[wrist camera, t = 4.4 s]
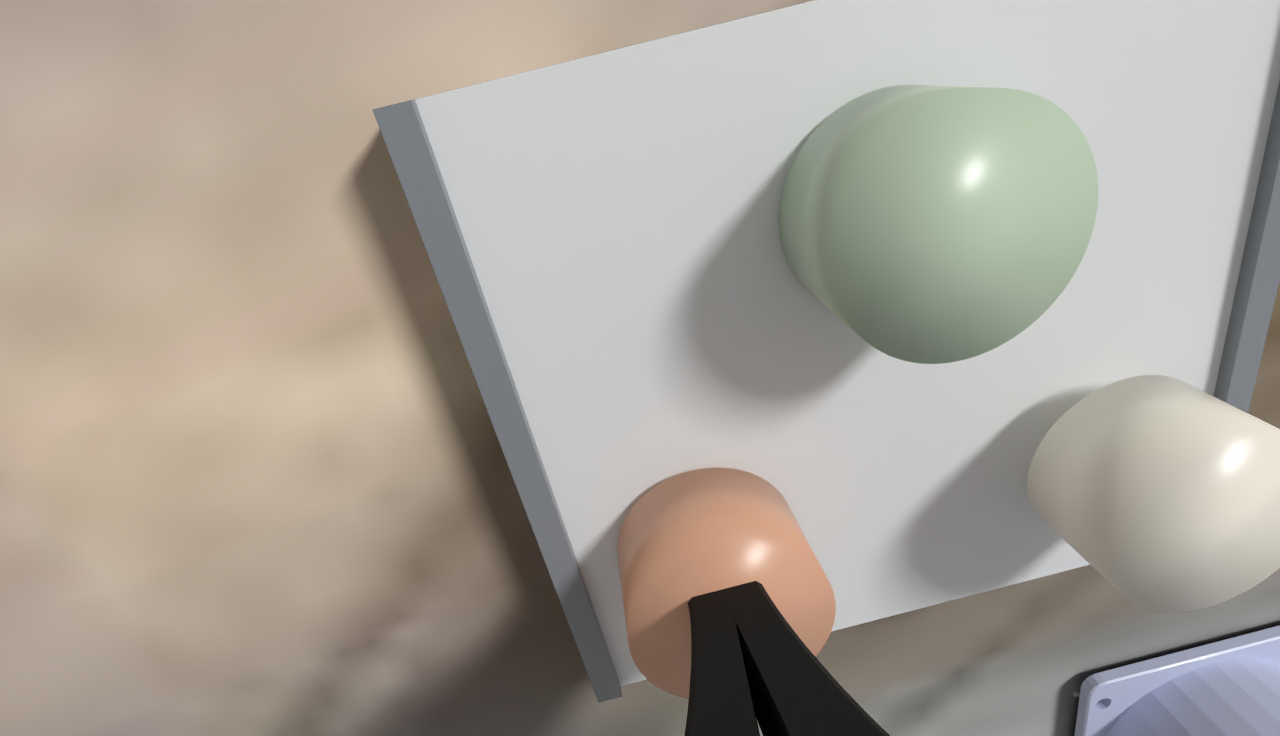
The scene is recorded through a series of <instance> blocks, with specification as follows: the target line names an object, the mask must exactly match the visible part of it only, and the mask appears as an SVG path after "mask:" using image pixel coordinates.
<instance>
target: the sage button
mask: <svg viewBox="0 0 1280 736" xmlns="http://www.w3.org/2000/svg"><path fill="white" fill-rule="evenodd" d="M1097 207H1098V179H1097V170H1096V166H1095V161H1094V157H1093V154H1092V151H1091V149H1090V146H1089V144H1088V142H1087V139H1086V138H1085V136H1084V134H1083V133H1082V131H1081V130H1080V128H1079V127H1078V125H1077V124H1076V123H1075V122H1074V121H1073V119H1072V118H1071V117H1070V116H1069V115H1068V114H1067V113H1066V112H1065V111H1063V110H1062V109H1061V108H1059V107H1058V106H1057V105H1055V104H1054V103H1053V102H1051V101H1049V100H1047V99H1045V98H1043V97H1041V96H1039V95H1036V94H1032V93H1029V92H1026V91H1022V90H1015V89H1008V88H989V87H961V86H932V85H896V86H890V87H884V88H880V89H877V90H874V91H871V92H868V93H865V94H863V95H861V96H859V97H857V98H855V99H853V100H851V101H849V102H848V103H846V104H845V105H843V106H842V107H840V108H839V109H837V110H836V111H835V112H834V113H832V114H831V115H830V116H829V117H827V118H826V119H825V120H824V121H823V122H822V123H821V124H820V125H819V126H818V127H817V128H816V129H815V130H814V131H813V133H812V134H811V135H810V137H809V138H808V139H807V141H806V142H805V143H804V144H803V146H802V148H801V149H800V151H799V153H798V154H797V156H796V158H795V159H794V161H793V164H792V166H791V168H790V170H789V173H788V175H787V178H786V181H785V184H784V187H783V191H782V196H781V201H780V210H779V231H780V238H781V244H782V248H783V251H784V254H785V257H786V260H787V262H788V264H789V266H790V268H791V270H792V272H793V273H794V275H795V276H796V278H797V279H798V280H799V282H800V283H801V284H802V285H803V286H804V287H805V288H806V289H807V290H808V291H809V292H810V293H811V294H812V295H813V296H814V297H816V298H817V299H818V300H819V301H820V302H821V303H822V304H824V305H825V306H826V307H827V308H828V309H829V310H830V311H832V312H833V313H834V314H835V315H836V316H837V317H838V318H840V319H841V320H842V321H843V322H844V323H845V324H846V325H848V326H849V327H850V328H851V329H852V330H853V331H854V332H856V333H857V334H858V335H859V336H860V337H861V338H862V339H864V340H865V341H866V342H867V343H869V344H870V345H871V346H873V347H874V348H876V349H877V350H879V351H881V352H883V353H885V354H887V355H889V356H891V357H894V358H897V359H900V360H903V361H908V362H913V363H921V364H941V363H951V362H956V361H961V360H965V359H969V358H972V357H975V356H978V355H981V354H983V353H986V352H988V351H990V350H992V349H995V348H997V347H999V346H1000V345H1002V344H1004V343H1006V342H1007V341H1009V340H1011V339H1012V338H1014V337H1015V336H1017V335H1018V334H1020V333H1021V332H1022V331H1024V330H1025V329H1027V328H1028V327H1029V326H1030V325H1031V324H1032V323H1034V322H1035V321H1036V320H1037V319H1038V318H1039V317H1040V316H1041V315H1042V314H1043V313H1044V312H1045V311H1046V310H1047V309H1048V308H1049V307H1050V306H1051V305H1052V304H1053V303H1054V302H1055V300H1056V299H1057V298H1058V297H1059V295H1060V294H1061V293H1062V292H1063V290H1064V289H1065V288H1066V286H1067V285H1068V283H1069V281H1070V280H1071V278H1072V277H1073V275H1074V274H1075V272H1076V270H1077V268H1078V266H1079V264H1080V262H1081V261H1082V259H1083V256H1084V254H1085V251H1086V249H1087V246H1088V244H1089V242H1090V238H1091V235H1092V231H1093V228H1094V224H1095V219H1096V213H1097Z"/></svg>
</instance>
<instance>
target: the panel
mask: <svg viewBox="0 0 1280 736" xmlns="http://www.w3.org/2000/svg"><path fill="white" fill-rule="evenodd" d="M896 85H932V86H961V87H989V88H1008V89H1015V90H1022V91H1026V92H1029V93H1032V94H1036V95H1039V96H1041V97H1043V98H1045V99H1047V100H1049V101H1051V102H1053V103H1054V104H1055V105H1057V106H1058V107H1059V108H1061V109H1062V110H1063V111H1065V112H1066V113H1067V114H1068V115H1069V116H1070V117H1071V118H1072V119H1073V121H1074V122H1075V123H1076V124H1077V125H1078V127H1079V128H1080V130H1081V131H1082V133H1083V134H1084V136H1085V138H1086V139H1087V142H1088V144H1089V146H1090V149H1091V151H1092V154H1093V157H1094V161H1095V166H1096V170H1097V179H1098V207H1097V213H1096V219H1095V224H1094V228H1093V231H1092V235H1091V238H1090V242H1089V244H1088V246H1087V249H1086V251H1085V254H1084V256H1083V259H1082V261H1081V262H1080V264H1079V266H1078V268H1077V270H1076V272H1075V274H1074V275H1073V277H1072V278H1071V280H1070V281H1069V283H1068V285H1067V286H1066V288H1065V289H1064V290H1063V292H1062V293H1061V294H1060V295H1059V297H1058V298H1057V299H1056V300H1055V302H1054V303H1053V304H1052V305H1051V306H1050V307H1049V308H1048V309H1047V310H1046V311H1045V312H1044V313H1043V314H1042V315H1041V316H1040V317H1039V318H1038V319H1037V320H1036V321H1035V322H1034V323H1032V324H1031V325H1030V326H1029V327H1028V328H1027V329H1025V330H1024V331H1022V332H1021V333H1020V334H1018V335H1017V336H1015V337H1014V338H1012V339H1011V340H1009V341H1007V342H1006V343H1004V344H1002V345H1000V346H999V347H997V348H995V349H992V350H990V351H988V352H986V353H983V354H981V355H978V356H975V357H972V358H969V359H965V360H961V361H956V362H951V363H941V364H921V363H913V362H908V361H903V360H900V359H897V358H894V357H891V356H889V355H887V354H885V353H883V352H881V351H879V350H877V349H876V348H874V347H873V346H871V345H870V344H869V343H867V342H866V341H865V340H864V339H862V338H861V337H860V336H859V335H858V334H857V333H856V332H854V331H853V330H852V329H851V328H850V327H849V326H848V325H846V324H845V323H844V322H843V321H842V320H841V319H840V318H838V317H837V316H836V315H835V314H834V313H833V312H832V311H830V310H829V309H828V308H827V307H826V306H825V305H824V304H822V303H821V302H820V301H819V300H818V299H817V298H816V297H814V296H813V295H812V294H811V293H810V292H809V291H808V290H807V289H806V288H805V287H804V286H803V285H802V284H801V283H800V282H799V280H798V279H797V278H796V276H795V275H794V273H793V272H792V270H791V268H790V266H789V264H788V262H787V260H786V257H785V254H784V251H783V248H782V244H781V238H780V231H779V210H780V201H781V196H782V191H783V187H784V184H785V181H786V178H787V175H788V173H789V170H790V168H791V166H792V164H793V161H794V159H795V158H796V156H797V154H798V153H799V151H800V149H801V148H802V146H803V144H804V143H805V142H806V141H807V139H808V138H809V137H810V135H811V134H812V133H813V131H814V130H815V129H816V128H817V127H818V126H819V125H820V124H821V123H822V122H823V121H824V120H825V119H826V118H827V117H829V116H830V115H831V114H832V113H834V112H835V111H836V110H837V109H839V108H840V107H842V106H843V105H845V104H846V103H848V102H849V101H851V100H853V99H855V98H857V97H859V96H861V95H863V94H865V93H868V92H871V91H874V90H877V89H880V88H884V87H890V86H896ZM373 112H374V115H375V118H376V120H377V123H378V125H379V128H380V131H381V133H382V136H383V139H384V141H385V144H386V146H387V149H388V152H389V154H390V157H391V159H392V162H393V165H394V167H395V170H396V173H397V175H398V178H399V180H400V183H401V186H402V188H403V191H404V194H405V196H406V199H407V201H408V204H409V207H410V209H411V212H412V215H413V217H414V220H415V222H416V225H417V228H418V230H419V233H420V236H421V238H422V241H423V243H424V246H425V249H426V251H427V254H428V257H429V259H430V262H431V264H432V267H433V270H434V272H435V275H436V277H437V280H438V283H439V285H440V288H441V291H442V293H443V296H444V298H445V301H446V304H447V306H448V309H449V312H450V314H451V317H452V319H453V322H454V325H455V327H456V330H457V333H458V335H459V338H460V340H461V343H462V346H463V348H464V351H465V354H466V356H467V359H468V361H469V364H470V367H471V369H472V372H473V375H474V377H475V380H476V382H477V385H478V388H479V390H480V393H481V396H482V398H483V401H484V403H485V406H486V409H487V411H488V414H489V416H490V419H491V422H492V424H493V427H494V430H495V432H496V435H497V437H498V440H499V443H500V445H501V448H502V451H503V453H504V456H505V458H506V461H507V464H508V466H509V469H510V472H511V474H512V477H513V479H514V482H515V485H516V487H517V490H518V493H519V495H520V498H521V500H522V503H523V506H524V508H525V511H526V514H527V516H528V519H529V521H530V524H531V527H532V529H533V532H534V535H535V537H536V540H537V542H538V545H539V548H540V550H541V553H542V555H543V558H544V561H545V563H546V566H547V569H548V571H549V574H550V576H551V579H552V582H553V584H554V587H555V590H556V592H557V595H558V597H559V600H560V603H561V605H562V608H563V611H564V613H565V616H566V618H567V621H568V624H569V626H570V629H571V632H572V634H573V637H574V639H575V642H576V645H577V647H578V650H579V653H580V655H581V658H582V660H583V663H584V666H585V668H586V671H587V674H588V676H589V679H590V681H591V684H592V687H593V689H594V692H595V694H596V697H597V700H598V702H603V701H606V700H610V699H614V698H618V697H622V692H621V686H623V685H626V684H630V683H634V682H638V681H642V680H646V679H647V678H646V677H645V676H644V675H643V674H642V673H641V672H640V671H639V669H638V668H637V666H636V665H635V663H634V661H633V659H632V656H631V654H630V649H629V645H628V637H627V629H626V621H625V613H624V605H623V596H622V588H621V580H620V572H619V564H618V555H617V544H618V537H619V533H620V529H621V527H622V524H623V522H624V520H625V518H626V516H627V515H628V513H629V512H630V510H631V509H632V508H633V506H634V505H635V504H636V503H637V502H638V500H639V499H641V498H642V497H643V496H644V495H645V494H646V493H647V492H648V491H650V490H651V489H653V488H654V487H655V486H657V485H658V484H660V483H662V482H664V481H665V480H667V479H670V478H672V477H674V476H676V475H679V474H682V473H685V472H688V471H692V470H697V469H703V468H714V467H717V468H732V469H739V470H742V471H746V472H750V473H752V474H754V475H757V476H759V477H761V478H763V479H764V480H766V481H768V482H769V483H770V484H771V485H773V486H774V487H775V488H776V489H777V490H778V491H779V492H780V493H781V494H782V495H783V497H784V499H785V500H786V502H787V503H788V505H789V507H790V509H791V511H792V513H793V514H794V516H795V518H796V520H797V522H798V524H799V526H800V528H801V530H802V531H803V533H804V535H805V537H806V539H807V541H808V543H809V545H810V546H811V548H812V550H813V552H814V554H815V556H816V558H817V560H818V561H819V563H820V565H821V567H822V569H823V571H824V573H825V575H826V576H827V578H828V580H829V582H830V584H831V587H832V589H833V592H834V597H835V601H836V613H835V620H834V624H833V627H832V630H831V631H835V630H839V629H843V628H847V627H850V626H854V625H858V624H862V623H866V622H870V621H874V620H877V619H881V618H885V617H889V616H893V615H897V614H901V613H905V612H908V611H912V610H916V609H920V608H924V607H928V606H932V605H935V604H939V603H943V602H947V601H951V600H955V599H959V598H962V597H966V596H970V595H974V594H978V593H982V592H986V591H989V590H993V589H997V588H1001V587H1005V586H1009V585H1013V584H1017V583H1020V582H1024V581H1028V580H1032V579H1036V578H1040V577H1044V576H1047V575H1051V574H1055V573H1059V572H1063V571H1067V570H1071V569H1074V568H1078V567H1082V566H1086V565H1090V564H1089V563H1088V562H1087V561H1086V560H1085V559H1084V558H1083V557H1082V556H1081V555H1079V554H1078V553H1077V552H1076V551H1075V550H1074V549H1073V548H1072V547H1071V546H1070V545H1069V544H1068V543H1067V542H1065V541H1064V540H1063V539H1062V538H1061V537H1060V536H1059V535H1058V534H1057V533H1056V532H1055V531H1054V530H1052V529H1051V528H1050V527H1049V526H1048V525H1047V524H1046V523H1045V522H1044V521H1043V520H1042V519H1041V518H1040V517H1039V516H1038V515H1037V514H1036V513H1035V511H1034V509H1033V508H1032V506H1031V503H1030V501H1029V497H1028V491H1027V479H1028V472H1029V468H1030V465H1031V461H1032V459H1033V457H1034V454H1035V452H1036V450H1037V448H1038V446H1039V444H1040V443H1041V441H1042V439H1043V438H1044V437H1045V435H1046V434H1047V432H1048V431H1049V430H1050V428H1051V427H1052V426H1053V425H1054V424H1055V423H1056V421H1057V420H1058V419H1059V418H1060V417H1061V416H1062V415H1063V414H1065V413H1066V412H1067V411H1068V410H1069V409H1070V408H1071V407H1073V406H1074V405H1075V404H1076V403H1078V402H1079V401H1080V400H1082V399H1083V398H1085V397H1086V396H1088V395H1089V394H1091V393H1093V392H1095V391H1097V390H1099V389H1100V388H1102V387H1104V386H1107V385H1109V384H1112V383H1114V382H1117V381H1120V380H1123V379H1126V378H1131V377H1136V376H1142V375H1164V376H1168V377H1173V378H1176V379H1178V380H1181V381H1183V382H1185V383H1187V384H1189V385H1191V386H1193V387H1195V388H1197V389H1199V390H1201V391H1203V392H1205V393H1208V394H1210V395H1212V396H1214V397H1216V398H1218V399H1220V400H1222V401H1224V402H1226V403H1228V404H1230V405H1232V406H1234V407H1236V408H1238V409H1240V410H1242V411H1244V412H1246V413H1248V411H1249V407H1250V402H1251V398H1252V394H1253V390H1254V386H1255V382H1256V377H1257V373H1258V369H1259V365H1260V361H1261V357H1262V352H1263V348H1264V344H1265V340H1266V336H1267V332H1268V327H1269V323H1270V319H1271V315H1272V311H1273V307H1274V302H1275V298H1276V294H1277V290H1278V286H1279V282H1280V0H814V1H810V2H806V3H802V4H798V5H794V6H790V7H786V8H782V9H778V10H774V11H770V12H766V13H762V14H758V15H754V16H750V17H746V18H742V19H738V20H734V21H729V22H725V23H721V24H717V25H713V26H709V27H705V28H701V29H697V30H693V31H689V32H685V33H681V34H677V35H673V36H669V37H665V38H661V39H657V40H653V41H649V42H645V43H641V44H637V45H633V46H629V47H625V48H621V49H617V50H613V51H608V52H604V53H600V54H596V55H592V56H588V57H584V58H580V59H576V60H572V61H568V62H564V63H560V64H556V65H552V66H548V67H544V68H540V69H536V70H532V71H528V72H524V73H520V74H516V75H512V76H508V77H504V78H500V79H496V80H492V81H487V82H483V83H479V84H475V85H471V86H467V87H463V88H459V89H455V90H451V91H447V92H443V93H439V94H435V95H431V96H427V97H423V98H419V99H415V100H410V101H406V102H402V103H398V104H394V105H390V106H386V107H382V108H378V109H374V110H373Z"/></svg>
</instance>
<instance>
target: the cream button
mask: <svg viewBox="0 0 1280 736" xmlns="http://www.w3.org/2000/svg"><path fill="white" fill-rule="evenodd" d="M1027 491H1028V497H1029V501H1030V503H1031V506H1032V508H1033V509H1034V511H1035V513H1036V514H1037V515H1038V516H1039V517H1040V518H1041V519H1042V520H1043V521H1044V522H1045V523H1046V524H1047V525H1048V526H1049V527H1050V528H1051V529H1052V530H1054V531H1055V532H1056V533H1057V534H1058V535H1059V536H1060V537H1061V538H1062V539H1063V540H1064V541H1065V542H1067V543H1068V544H1069V545H1070V546H1071V547H1072V548H1073V549H1074V550H1075V551H1076V552H1077V553H1078V554H1079V555H1081V556H1082V557H1083V558H1084V559H1085V560H1086V561H1087V562H1088V563H1089V564H1090V565H1091V566H1092V567H1094V568H1095V569H1096V570H1097V571H1098V572H1099V573H1100V574H1101V575H1102V576H1103V577H1104V578H1105V579H1106V580H1108V581H1109V582H1110V583H1111V584H1112V585H1113V586H1114V587H1115V588H1116V589H1117V590H1118V591H1119V592H1121V593H1122V594H1123V595H1124V596H1125V597H1126V598H1127V599H1128V600H1129V601H1131V602H1132V603H1134V604H1135V605H1136V606H1139V607H1141V608H1143V609H1145V610H1149V611H1153V612H1160V613H1182V612H1190V611H1195V610H1200V609H1204V608H1207V607H1210V606H1214V605H1217V604H1219V603H1222V602H1224V601H1227V600H1229V599H1231V598H1233V597H1235V596H1238V595H1240V594H1242V593H1243V592H1245V591H1247V590H1249V589H1250V588H1252V587H1254V586H1256V585H1257V584H1259V583H1260V582H1261V581H1263V580H1264V579H1266V578H1267V577H1269V576H1270V575H1271V574H1273V573H1274V572H1275V571H1276V570H1278V569H1279V568H1280V429H1278V428H1276V427H1274V426H1272V425H1270V424H1268V423H1266V422H1264V421H1262V420H1260V419H1258V418H1256V417H1254V416H1252V415H1250V414H1248V413H1246V412H1244V411H1242V410H1240V409H1238V408H1236V407H1234V406H1232V405H1230V404H1228V403H1226V402H1224V401H1222V400H1220V399H1218V398H1216V397H1214V396H1212V395H1210V394H1208V393H1205V392H1203V391H1201V390H1199V389H1197V388H1195V387H1193V386H1191V385H1189V384H1187V383H1185V382H1183V381H1181V380H1178V379H1176V378H1173V377H1168V376H1164V375H1142V376H1136V377H1131V378H1126V379H1123V380H1120V381H1117V382H1114V383H1112V384H1109V385H1107V386H1104V387H1102V388H1100V389H1099V390H1097V391H1095V392H1093V393H1091V394H1089V395H1088V396H1086V397H1085V398H1083V399H1082V400H1080V401H1079V402H1078V403H1076V404H1075V405H1074V406H1073V407H1071V408H1070V409H1069V410H1068V411H1067V412H1066V413H1065V414H1063V415H1062V416H1061V417H1060V418H1059V419H1058V420H1057V421H1056V423H1055V424H1054V425H1053V426H1052V427H1051V428H1050V430H1049V431H1048V432H1047V434H1046V435H1045V437H1044V438H1043V439H1042V441H1041V443H1040V444H1039V446H1038V448H1037V450H1036V452H1035V454H1034V457H1033V459H1032V461H1031V465H1030V468H1029V472H1028V479H1027Z"/></svg>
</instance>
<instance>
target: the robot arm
mask: <svg viewBox="0 0 1280 736" xmlns="http://www.w3.org/2000/svg"><path fill="white" fill-rule="evenodd" d="M688 607H689V613H690V623H691V674H690V690H689V704H688V714H687V722H686V730H685V736H760V734H759V729H758V724H757V721H758V723H759V726H760V728H761V731H762V734H763V736H890V735H889V734H888V733H887V732H886V731H885V730H884V729H882V728H881V727H880V726H879V725H878V724H877V723H876V722H875V721H874V720H873V719H872V718H871V717H870V716H869V715H868V714H867V713H866V712H865V711H864V710H863V709H862V708H861V706H860V705H859V704H858V703H857V702H856V701H855V700H854V699H853V698H852V697H851V696H850V695H849V694H848V693H847V692H846V691H845V690H844V689H843V688H842V686H841V685H840V684H839V683H838V682H837V681H836V680H835V679H834V678H833V677H832V676H831V674H830V673H829V672H828V671H827V670H826V669H825V667H824V666H823V665H822V664H821V663H820V662H819V660H818V659H817V658H816V657H815V656H814V655H813V654H812V652H811V651H810V650H809V649H808V648H807V646H806V645H805V644H804V643H803V642H802V640H801V639H800V638H799V637H798V635H797V634H796V633H795V631H794V630H793V629H792V627H791V626H790V625H789V624H788V622H787V621H786V620H785V618H784V617H783V615H782V614H781V613H780V611H779V610H778V608H777V607H776V606H775V604H774V603H773V601H772V600H771V598H770V596H769V595H768V593H767V592H766V590H765V588H764V587H763V585H762V584H761V583H759V582H757V581H753V582H749V583H745V584H741V585H737V586H733V587H730V588H726V589H722V590H718V591H714V592H710V593H706V594H702V595H699V596H695V597H692V598H691V600H690V601H689V602H688ZM756 718H757V719H756ZM1074 736H1280V625H1278V626H1275V627H1271V628H1267V629H1263V630H1259V631H1255V632H1252V633H1248V634H1244V635H1240V636H1236V637H1232V638H1229V639H1225V640H1221V641H1217V642H1213V643H1209V644H1206V645H1202V646H1198V647H1194V648H1190V649H1186V650H1183V651H1179V652H1175V653H1171V654H1167V655H1163V656H1160V657H1156V658H1152V659H1148V660H1144V661H1140V662H1137V663H1133V664H1129V665H1125V666H1121V667H1117V668H1114V669H1110V670H1106V671H1102V672H1098V673H1095V674H1092V675H1090V676H1089V677H1087V678H1086V679H1085V680H1084V681H1083V683H1082V685H1081V690H1080V698H1079V705H1078V713H1077V720H1076V728H1075V735H1074Z"/></svg>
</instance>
